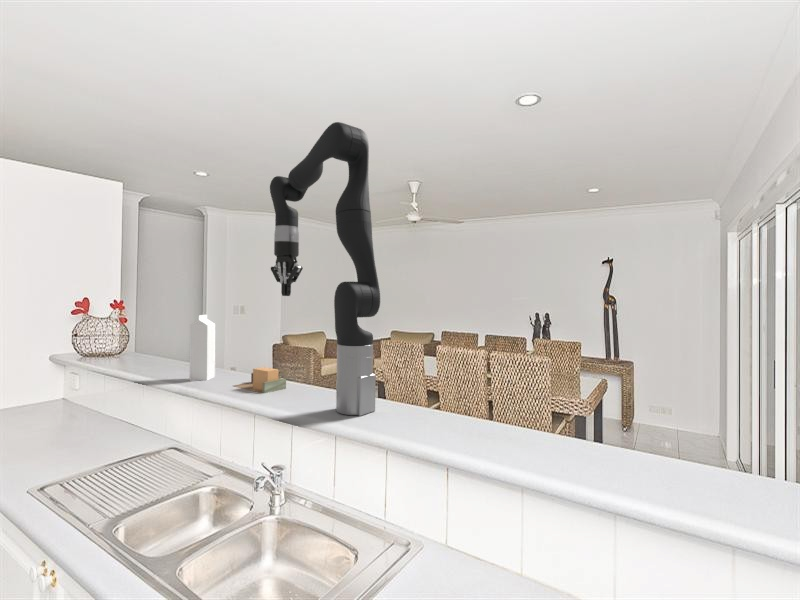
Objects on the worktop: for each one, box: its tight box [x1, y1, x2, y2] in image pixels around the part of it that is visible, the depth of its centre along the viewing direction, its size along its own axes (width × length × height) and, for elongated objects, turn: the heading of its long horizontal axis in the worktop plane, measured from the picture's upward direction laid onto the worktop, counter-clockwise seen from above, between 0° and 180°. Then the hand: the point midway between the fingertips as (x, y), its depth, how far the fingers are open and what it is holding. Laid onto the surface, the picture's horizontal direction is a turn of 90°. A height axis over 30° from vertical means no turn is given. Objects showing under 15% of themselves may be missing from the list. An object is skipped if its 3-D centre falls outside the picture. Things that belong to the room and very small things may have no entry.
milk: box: [189, 314, 216, 382], centre depth 151 cm, size 6×6×22 cm
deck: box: [233, 372, 287, 394], centre depth 139 cm, size 16×8×4 cm, turn 55°
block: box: [252, 366, 280, 390], centre depth 137 cm, size 7×4×6 cm, turn 55°
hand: (286, 295), depth 142 cm, fingers closed
